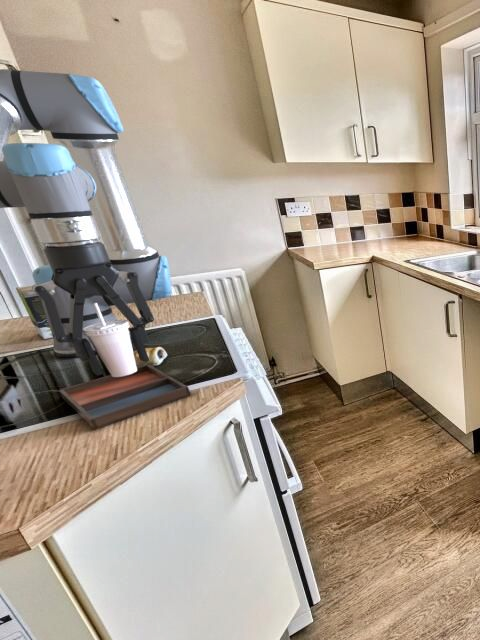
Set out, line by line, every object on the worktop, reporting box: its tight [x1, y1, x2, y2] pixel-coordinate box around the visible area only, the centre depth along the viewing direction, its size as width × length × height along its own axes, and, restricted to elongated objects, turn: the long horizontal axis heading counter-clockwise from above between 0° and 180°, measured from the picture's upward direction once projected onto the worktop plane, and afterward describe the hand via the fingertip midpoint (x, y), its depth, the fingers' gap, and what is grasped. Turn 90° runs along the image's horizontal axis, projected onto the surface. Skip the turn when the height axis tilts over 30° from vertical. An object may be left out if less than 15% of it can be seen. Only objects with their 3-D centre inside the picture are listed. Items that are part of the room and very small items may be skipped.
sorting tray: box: [58, 364, 191, 430], centre depth 86 cm, size 22×15×2 cm
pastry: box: [133, 346, 168, 367], centre depth 102 cm, size 9×7×4 cm
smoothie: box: [83, 303, 137, 377], centre depth 78 cm, size 6×6×14 cm
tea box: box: [15, 283, 53, 340], centre depth 126 cm, size 15×10×15 cm, turn 144°
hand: (122, 366), depth 80 cm, fingers closed on smoothie, 6 cm apart
